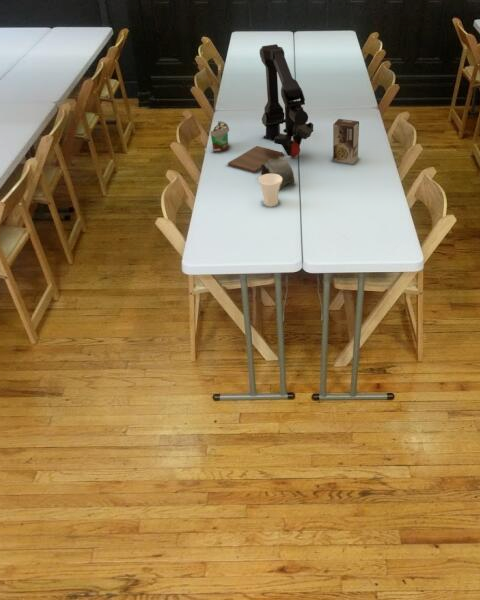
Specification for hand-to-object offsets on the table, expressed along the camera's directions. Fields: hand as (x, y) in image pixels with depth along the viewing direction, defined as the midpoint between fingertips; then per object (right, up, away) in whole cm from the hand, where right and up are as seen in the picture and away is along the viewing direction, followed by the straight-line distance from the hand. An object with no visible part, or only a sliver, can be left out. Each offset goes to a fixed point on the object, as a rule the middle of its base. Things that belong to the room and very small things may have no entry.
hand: (293, 153), depth 262 cm
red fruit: (0, -2, +1) cm, 2 cm away
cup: (-8, -26, -30) cm, 40 cm away
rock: (-6, -15, -16) cm, 23 cm away
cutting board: (-15, -3, 0) cm, 16 cm away
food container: (-30, +4, +11) cm, 33 cm away
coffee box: (+22, -4, -2) cm, 22 cm away
